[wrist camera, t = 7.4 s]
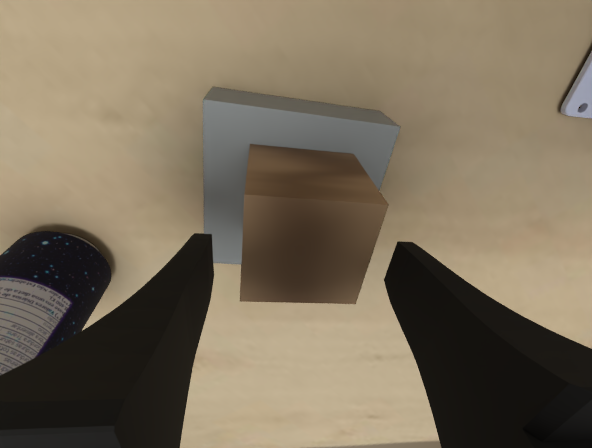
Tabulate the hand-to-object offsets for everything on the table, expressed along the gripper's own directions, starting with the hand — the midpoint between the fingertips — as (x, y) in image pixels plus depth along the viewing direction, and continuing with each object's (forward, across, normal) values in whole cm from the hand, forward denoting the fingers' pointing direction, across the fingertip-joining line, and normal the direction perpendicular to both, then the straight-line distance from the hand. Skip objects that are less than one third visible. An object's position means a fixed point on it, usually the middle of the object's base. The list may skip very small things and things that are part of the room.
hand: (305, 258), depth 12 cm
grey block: (+8, 0, 0) cm, 8 cm away
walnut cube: (+5, 0, 0) cm, 5 cm away
